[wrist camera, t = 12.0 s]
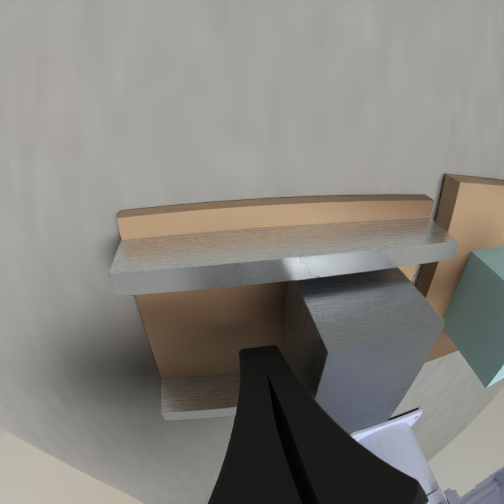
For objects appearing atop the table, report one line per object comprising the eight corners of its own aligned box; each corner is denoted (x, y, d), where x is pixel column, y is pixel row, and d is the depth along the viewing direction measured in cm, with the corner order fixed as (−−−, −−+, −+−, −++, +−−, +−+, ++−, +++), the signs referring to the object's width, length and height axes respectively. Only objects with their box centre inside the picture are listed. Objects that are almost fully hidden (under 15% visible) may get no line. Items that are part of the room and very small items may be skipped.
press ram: (365, 354, 14) (398, 417, 11) (278, 371, 14) (300, 445, 10) (398, 253, 11) (457, 319, 8) (287, 265, 11) (328, 352, 7)
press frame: (475, 331, 19) (493, 353, 16) (171, 396, 16) (172, 436, 13) (533, 184, 12) (562, 202, 10) (115, 183, 9) (93, 215, 7)
